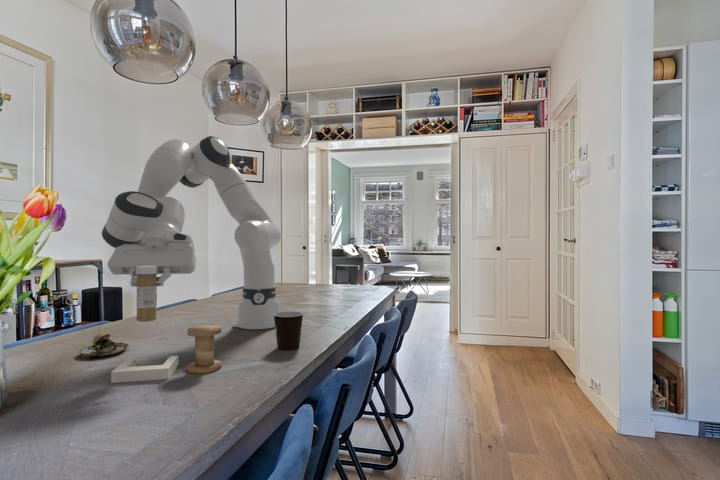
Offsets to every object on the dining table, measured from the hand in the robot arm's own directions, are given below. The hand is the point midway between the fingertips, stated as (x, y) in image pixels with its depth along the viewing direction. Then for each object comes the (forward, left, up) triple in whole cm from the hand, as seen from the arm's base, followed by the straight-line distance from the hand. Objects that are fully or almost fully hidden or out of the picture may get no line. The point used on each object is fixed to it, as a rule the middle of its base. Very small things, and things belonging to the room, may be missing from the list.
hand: (146, 284), depth 97 cm
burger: (-19, -16, -22) cm, 34 cm away
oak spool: (+1, +13, -21) cm, 25 cm away
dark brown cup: (-15, +35, -22) cm, 44 cm away
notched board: (+2, 0, -21) cm, 21 cm away
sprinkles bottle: (0, 0, -9) cm, 9 cm away
